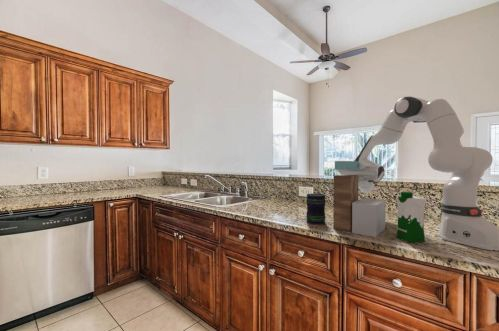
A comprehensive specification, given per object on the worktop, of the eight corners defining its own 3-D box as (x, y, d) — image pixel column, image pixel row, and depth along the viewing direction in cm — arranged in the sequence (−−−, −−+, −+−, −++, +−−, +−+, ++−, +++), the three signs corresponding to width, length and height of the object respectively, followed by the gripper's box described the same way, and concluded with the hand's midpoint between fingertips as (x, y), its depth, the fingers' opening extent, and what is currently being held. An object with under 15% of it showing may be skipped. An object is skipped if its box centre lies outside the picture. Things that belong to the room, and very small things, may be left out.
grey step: (363, 225, 124) (363, 197, 124) (385, 228, 117) (385, 199, 117) (352, 232, 110) (352, 202, 110) (376, 237, 104) (376, 205, 103)
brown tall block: (342, 223, 127) (342, 174, 126) (358, 226, 121) (358, 174, 121) (333, 228, 117) (333, 175, 117) (350, 231, 112) (350, 176, 112)
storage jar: (326, 225, 124) (326, 196, 123) (306, 224, 126) (306, 195, 125) (324, 220, 133) (324, 193, 133) (306, 219, 135) (306, 193, 135)
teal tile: (352, 168, 132) (352, 161, 132) (360, 168, 130) (360, 161, 130) (334, 169, 112) (334, 161, 112) (343, 169, 110) (343, 161, 110)
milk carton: (393, 237, 104) (393, 191, 104) (411, 236, 106) (411, 190, 105) (409, 244, 96) (410, 193, 95) (429, 242, 97) (430, 193, 97)
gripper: (343, 170, 145) (335, 159, 136) (381, 171, 132) (375, 158, 123) (341, 180, 143) (333, 169, 134) (379, 181, 130) (374, 169, 120)
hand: (354, 164), depth 128 cm, fingers closed on teal tile, 4 cm apart
